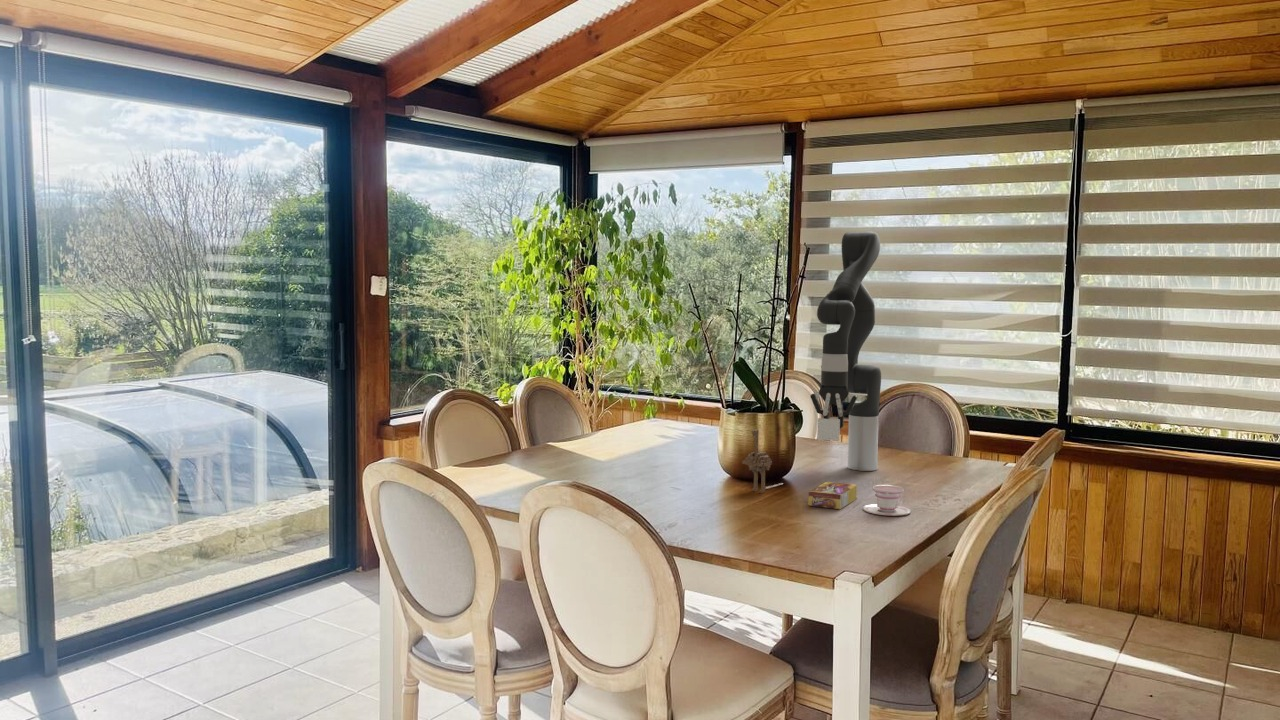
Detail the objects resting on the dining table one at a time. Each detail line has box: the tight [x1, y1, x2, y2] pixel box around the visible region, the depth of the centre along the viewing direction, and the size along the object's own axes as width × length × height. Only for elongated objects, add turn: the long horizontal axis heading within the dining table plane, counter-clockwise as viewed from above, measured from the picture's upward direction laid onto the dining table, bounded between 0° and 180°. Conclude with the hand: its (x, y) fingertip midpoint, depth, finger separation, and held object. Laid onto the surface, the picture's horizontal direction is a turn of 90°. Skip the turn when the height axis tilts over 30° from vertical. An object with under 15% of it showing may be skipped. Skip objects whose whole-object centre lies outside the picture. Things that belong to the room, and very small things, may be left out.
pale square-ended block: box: [816, 416, 841, 442], centre depth 263 cm, size 15×6×6 cm, turn 161°
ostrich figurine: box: [741, 429, 784, 494], centre depth 263 cm, size 17×7×18 cm, turn 139°
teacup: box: [862, 484, 912, 517], centre depth 239 cm, size 12×12×6 cm
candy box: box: [808, 481, 858, 510], centre depth 247 cm, size 9×4×15 cm
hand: (833, 428), depth 266 cm, fingers closed on pale square-ended block, 3 cm apart
